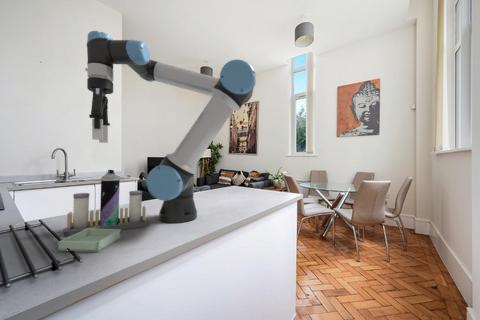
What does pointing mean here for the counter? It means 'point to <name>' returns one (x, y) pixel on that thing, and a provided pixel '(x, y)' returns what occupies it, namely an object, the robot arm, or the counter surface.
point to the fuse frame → (70, 231)
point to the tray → (90, 240)
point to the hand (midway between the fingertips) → (100, 141)
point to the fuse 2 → (135, 206)
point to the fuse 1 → (80, 210)
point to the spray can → (109, 199)
